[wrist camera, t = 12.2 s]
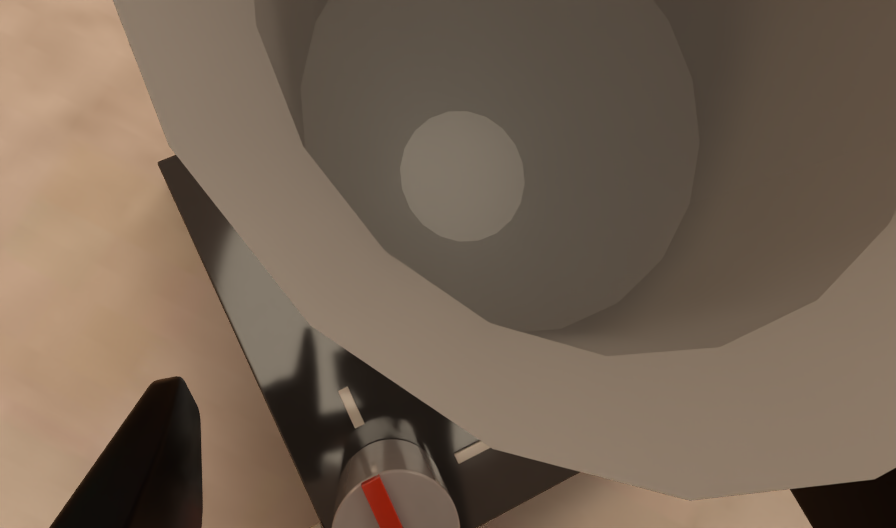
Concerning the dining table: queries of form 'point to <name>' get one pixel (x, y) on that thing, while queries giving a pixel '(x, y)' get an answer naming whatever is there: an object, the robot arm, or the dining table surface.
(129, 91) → the dining table surface
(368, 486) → the hob knob
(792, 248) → the chalice
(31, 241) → the dining table surface
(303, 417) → the hob
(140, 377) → the dining table surface
